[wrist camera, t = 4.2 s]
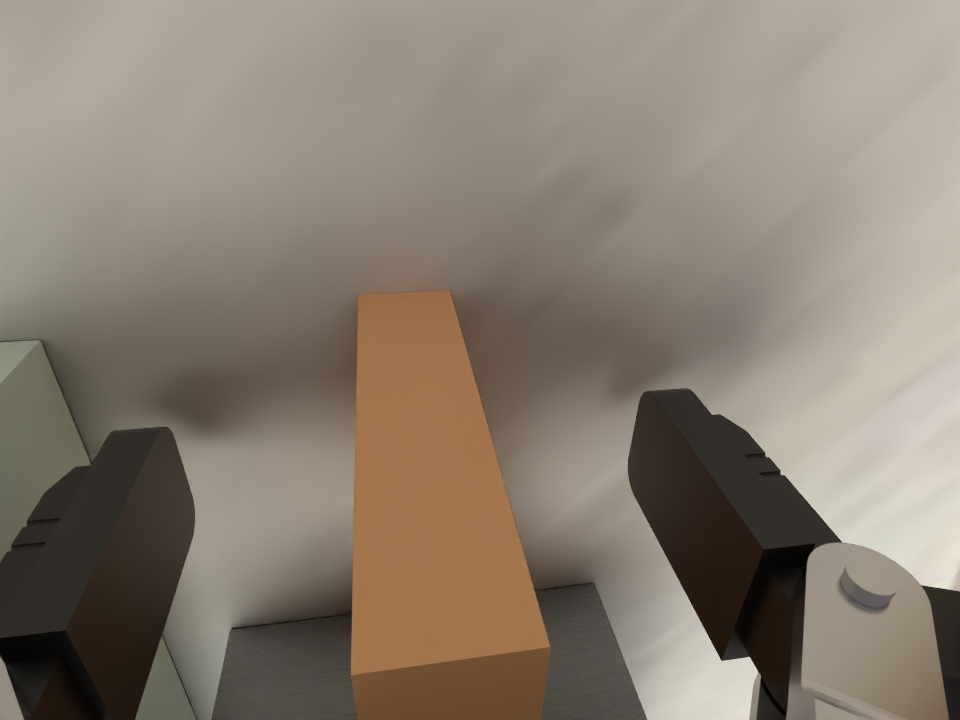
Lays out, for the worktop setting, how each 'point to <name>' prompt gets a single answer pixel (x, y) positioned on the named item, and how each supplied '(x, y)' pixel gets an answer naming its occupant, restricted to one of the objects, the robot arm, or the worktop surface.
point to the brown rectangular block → (434, 532)
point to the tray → (43, 462)
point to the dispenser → (327, 667)
